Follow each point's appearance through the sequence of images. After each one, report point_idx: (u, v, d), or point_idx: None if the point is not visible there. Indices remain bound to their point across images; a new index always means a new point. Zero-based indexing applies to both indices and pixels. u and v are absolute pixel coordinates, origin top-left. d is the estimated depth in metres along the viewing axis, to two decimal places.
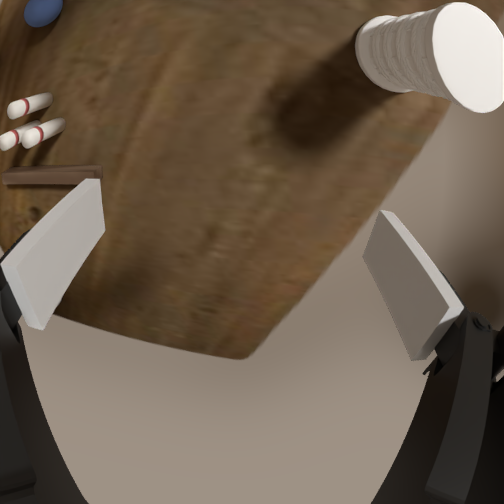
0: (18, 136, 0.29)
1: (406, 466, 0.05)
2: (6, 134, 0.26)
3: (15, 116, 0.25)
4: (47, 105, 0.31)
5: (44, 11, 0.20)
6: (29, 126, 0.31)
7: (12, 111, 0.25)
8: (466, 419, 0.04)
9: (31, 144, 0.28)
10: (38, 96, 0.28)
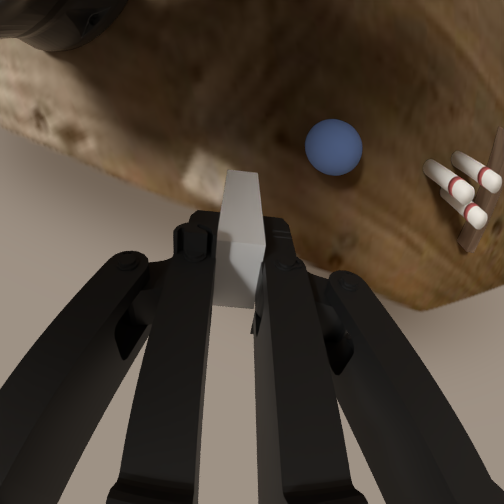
0: (473, 203, 0.28)
1: (265, 454, 0.05)
2: (476, 214, 0.27)
3: (473, 193, 0.25)
4: None
5: (354, 136, 0.26)
6: None
7: (467, 196, 0.25)
8: (302, 387, 0.05)
9: (500, 180, 0.24)
10: (439, 169, 0.29)
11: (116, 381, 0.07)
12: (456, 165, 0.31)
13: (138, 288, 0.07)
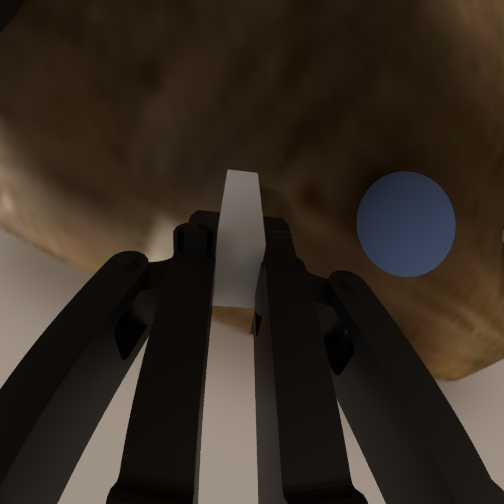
0: None
1: (264, 454, 0.05)
2: None
3: None
4: None
5: (451, 214, 0.13)
6: None
7: None
8: (302, 388, 0.05)
9: None
10: None
11: (116, 381, 0.07)
12: None
13: (138, 288, 0.07)
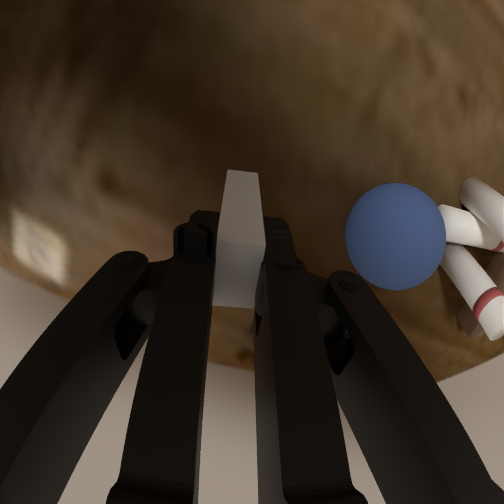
0: (495, 288, 0.14)
1: (264, 454, 0.05)
2: (497, 318, 0.12)
3: None
4: None
5: (371, 190, 0.15)
6: (464, 261, 0.16)
7: None
8: (302, 388, 0.05)
9: None
10: (481, 226, 0.16)
11: (116, 381, 0.07)
12: (469, 206, 0.16)
13: (138, 288, 0.07)
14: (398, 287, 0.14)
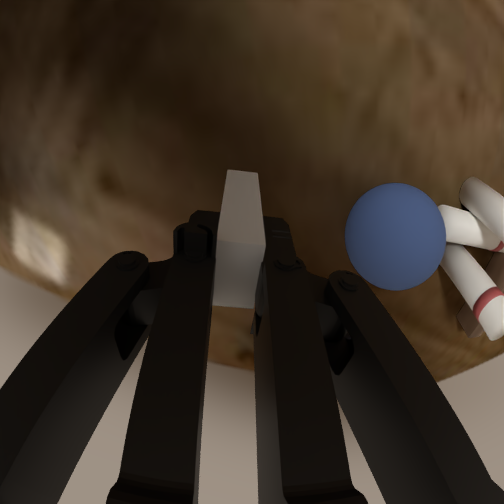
0: (495, 288, 0.14)
1: (264, 454, 0.05)
2: (497, 318, 0.12)
3: None
4: None
5: (371, 190, 0.15)
6: (464, 261, 0.16)
7: None
8: (302, 388, 0.05)
9: None
10: (481, 226, 0.16)
11: (116, 380, 0.07)
12: (469, 207, 0.16)
13: (138, 288, 0.07)
14: (398, 287, 0.14)
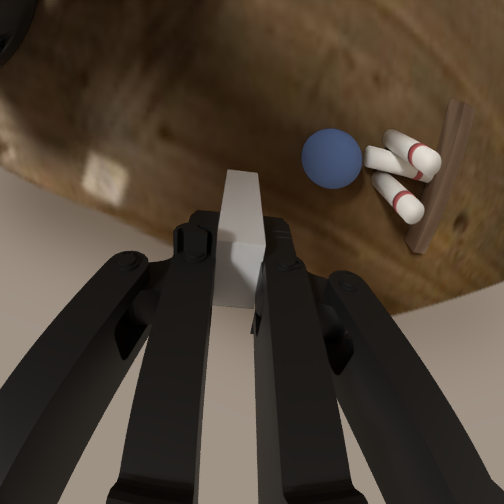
0: (406, 191, 0.26)
1: (265, 454, 0.05)
2: (405, 204, 0.24)
3: None
4: None
5: (314, 133, 0.27)
6: (387, 180, 0.28)
7: None
8: (302, 388, 0.05)
9: (439, 158, 0.21)
10: (398, 158, 0.28)
11: (116, 380, 0.07)
12: (387, 146, 0.28)
13: (138, 288, 0.07)
14: (332, 182, 0.26)
